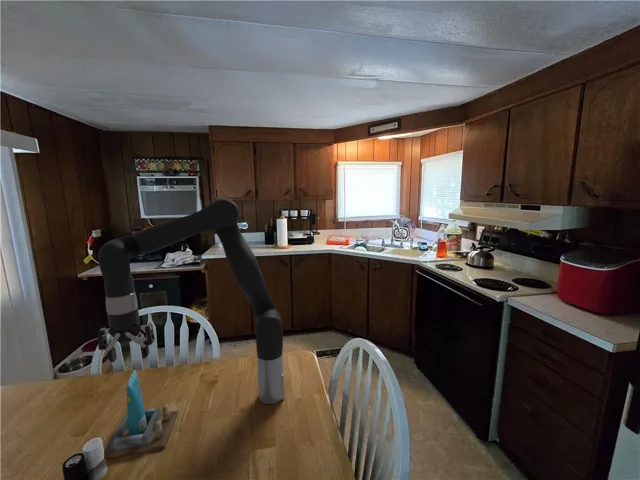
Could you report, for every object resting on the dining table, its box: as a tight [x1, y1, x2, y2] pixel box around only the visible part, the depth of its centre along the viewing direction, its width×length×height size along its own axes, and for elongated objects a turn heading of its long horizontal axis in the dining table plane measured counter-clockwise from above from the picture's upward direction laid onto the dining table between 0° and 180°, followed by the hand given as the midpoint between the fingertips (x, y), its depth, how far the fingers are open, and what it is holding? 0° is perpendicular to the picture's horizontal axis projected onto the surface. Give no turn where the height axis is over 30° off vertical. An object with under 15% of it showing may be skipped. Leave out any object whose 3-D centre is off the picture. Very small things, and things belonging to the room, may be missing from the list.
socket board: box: [104, 403, 179, 459], centre depth 92 cm, size 16×14×6 cm
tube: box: [126, 369, 147, 436], centre depth 90 cm, size 7×5×19 cm, turn 23°
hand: (129, 359), depth 88 cm, fingers open, 8 cm apart
